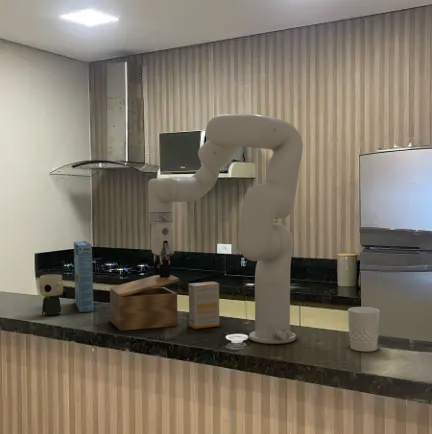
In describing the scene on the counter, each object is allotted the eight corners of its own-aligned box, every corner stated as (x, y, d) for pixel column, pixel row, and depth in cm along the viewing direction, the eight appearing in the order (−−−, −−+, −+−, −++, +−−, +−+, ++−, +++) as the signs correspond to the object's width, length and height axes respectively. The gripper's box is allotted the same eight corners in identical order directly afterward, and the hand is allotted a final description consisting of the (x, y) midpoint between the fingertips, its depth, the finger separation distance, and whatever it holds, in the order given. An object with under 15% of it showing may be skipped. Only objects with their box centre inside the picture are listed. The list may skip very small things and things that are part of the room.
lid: (166, 275, 194) (162, 260, 194) (179, 280, 181) (176, 264, 180) (110, 290, 188) (106, 274, 187) (119, 297, 174) (116, 280, 174)
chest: (164, 317, 195) (164, 287, 194) (177, 325, 181) (177, 293, 181) (110, 321, 188) (109, 290, 188) (119, 330, 175) (119, 297, 174)
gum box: (93, 311, 204) (92, 244, 203) (78, 312, 203) (77, 245, 202) (88, 302, 223) (87, 240, 222) (74, 303, 221) (73, 241, 220)
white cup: (346, 344, 157) (346, 306, 157) (376, 345, 156) (377, 307, 156) (349, 352, 149) (350, 312, 149) (382, 352, 149) (382, 312, 148)
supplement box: (213, 323, 184) (212, 281, 183) (219, 326, 180) (219, 283, 179) (188, 326, 180) (188, 283, 180) (194, 329, 176) (194, 285, 176)
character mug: (32, 314, 199) (31, 275, 199) (49, 311, 205) (48, 273, 205) (54, 318, 193) (53, 278, 193) (71, 314, 199) (70, 275, 198)
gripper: (180, 218, 179) (181, 278, 179) (165, 217, 195) (166, 272, 196) (156, 219, 176) (157, 280, 177) (142, 218, 192) (143, 273, 193)
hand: (161, 275), depth 186 cm, fingers closed on lid, 6 cm apart
